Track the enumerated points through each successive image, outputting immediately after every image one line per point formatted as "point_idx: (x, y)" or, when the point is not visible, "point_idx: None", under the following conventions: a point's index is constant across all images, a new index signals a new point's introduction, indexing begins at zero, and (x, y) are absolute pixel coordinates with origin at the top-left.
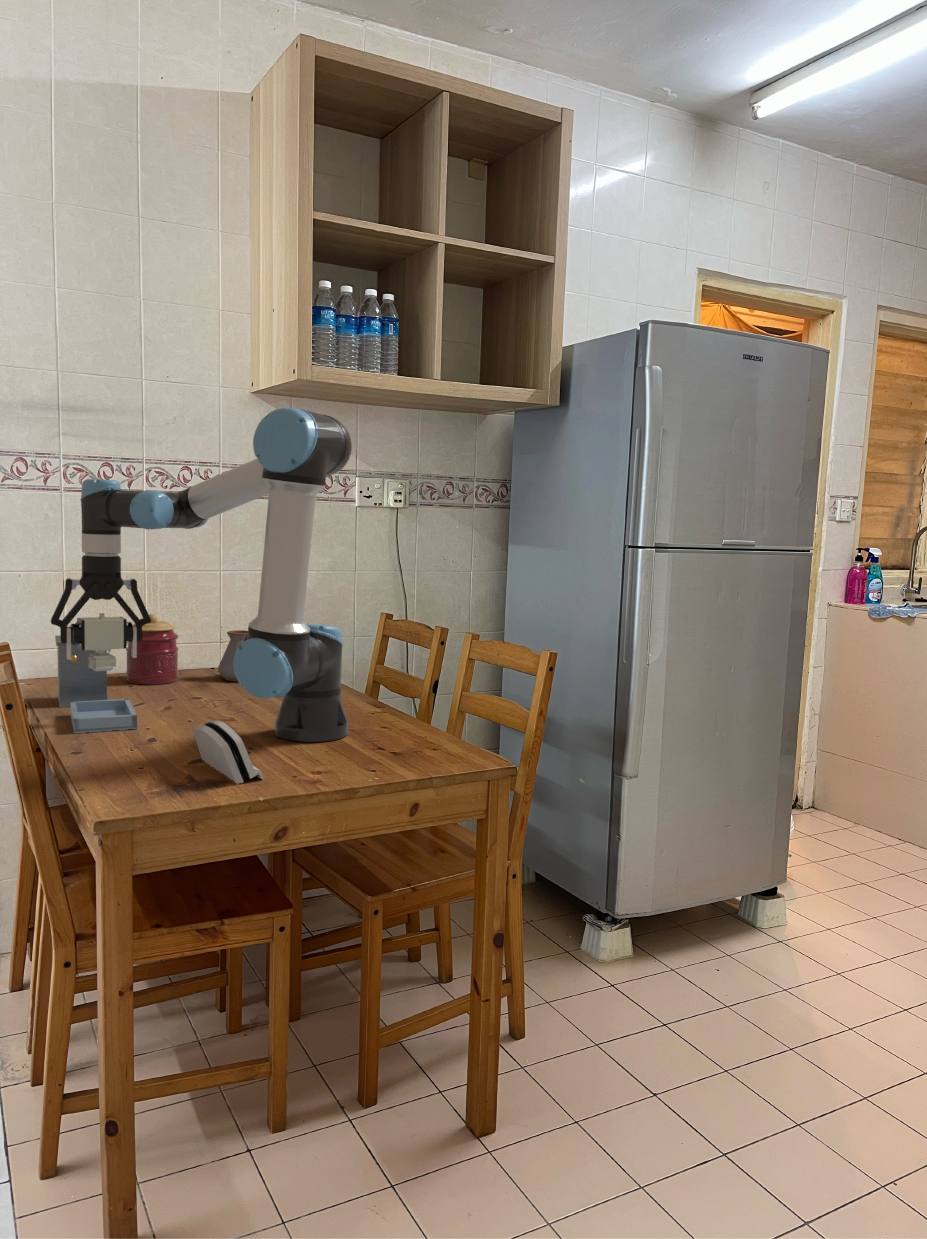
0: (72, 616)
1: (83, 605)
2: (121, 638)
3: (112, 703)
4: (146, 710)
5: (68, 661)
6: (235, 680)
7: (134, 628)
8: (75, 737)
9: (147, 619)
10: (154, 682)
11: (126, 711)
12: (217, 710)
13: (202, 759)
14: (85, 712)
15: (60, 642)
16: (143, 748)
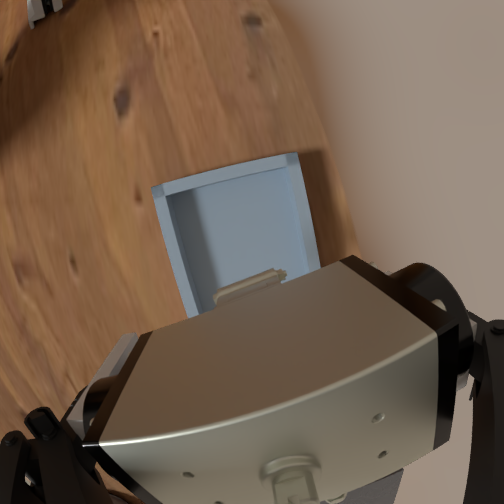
0: (502, 379)
1: (493, 480)
2: (149, 355)
3: None
4: None
5: None
6: (110, 495)
7: (77, 415)
8: (279, 123)
9: (9, 444)
10: None
11: (202, 313)
12: (55, 346)
13: (62, 4)
14: None
15: (394, 473)
16: (136, 45)
